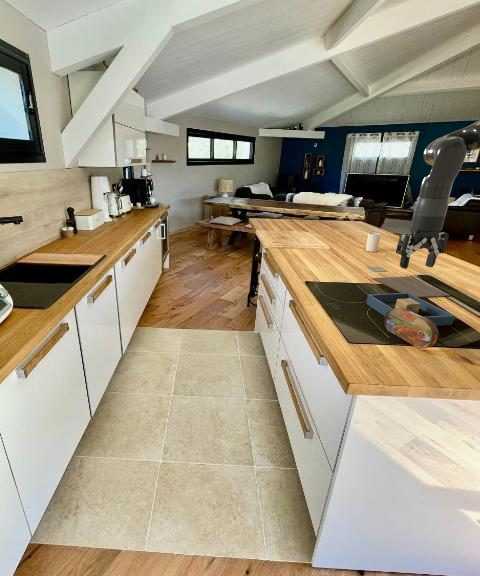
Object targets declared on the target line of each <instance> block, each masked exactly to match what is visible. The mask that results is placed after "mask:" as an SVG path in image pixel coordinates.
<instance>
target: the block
mask: <svg viewBox="0 0 480 576" xmlns="http://www.w3.org/2000/svg"><path fill="white" fill-rule="evenodd" d="M394 308H404V309H407V310H409V311H411V312H413V313H415V314H418V315H419V311H420V303H418V302H416V301H414V300H412V299H410V298H408V299H397V302H396V303H395V307H394Z"/></svg>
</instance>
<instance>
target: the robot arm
mask: <svg viewBox="0 0 480 576" xmlns="http://www.w3.org/2000/svg"><path fill="white" fill-rule="evenodd" d="M476 150H480V119H479V120H476V121H475V122H473V123H472V124H470V125H468V126H466V127H463V128H460V129H457V130H455V131H453V132H451V133H447V134H445V135H443V136H441V137H438V138H436V139H435V140H433V141H432V142H430V143H429V144H428V145H427V146H426V148H425V149H424V152H423V160H424V162H425V163H426V164H427V165H430V166H432V167H431V169H430V173H429V175H427V176H425V177H424V178H423V179H422V182H421V184H420V188H419V193H418V197H417V201H416V203H415V207H414V211H413V215H412V219H411V223H410V229H411V232H410V234H405V233H401V234H400V235H399V237H398V242H397V245H396V249H395V254H397V255H400V261H399V267H400V268H401V269H404V270H407V269H408V268H409V264H410V259H411V256H412V255H413V253H415V252H418V250H422V249H426V250H427V251H428V254H427V257H426V260H425V267H428V268H433V267H434V266H435V264H436V262H437V257H438V256H439V255H440V254H444V253H446V250H447V244H448V240H449V236H450V235H449V233H446V232H444V231H443V232H442V230H443V226H444V223H445V219H446V215H447V213H448V207H449V200H450V195H451V192H452V188H453V184H454V182H455V180H456V177H457V176H458V175H459V172H460V170H461V168H462V166H463V164H464V162H465V160H466V157H467V153H470V152H472V151H476Z"/></svg>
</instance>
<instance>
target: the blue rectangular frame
mask: <svg viewBox="0 0 480 576" xmlns="http://www.w3.org/2000/svg"><path fill="white" fill-rule="evenodd" d="M408 298H410V299H412V300H414V301H416V302H418V303H420V308H419V310H422V311H423V312H426V313H427V314H429V315H430V316H429V315H428V316H423V317H424V318H427V319H429V320H430V321H432V322H433V323H434V324H435V325H436V327H438V326H452V325H453V324H454V323H453V322H454V320H455V315H454V314H453V313H450V312H448V311H446V310H444V309H442V308H440V307H438V306H436V305H434V304H432V303H430V302H427V301H426V300H424V299H423V298H418V297H416V296H414V295H412V294H410V293H398V292H395V293H394V292H393V293H378V294H377V293H376V294H375V293H374V294H367V298H366V303H365V304H366V305H367V306H368V307H370V308H372V309H373V310H375V311H376V312H378V313H379V314H381V315H382V316H384V317H385V315H386V313H387V312H388V311H389V310H390V309H393V308H392V307H391V306H389V305H387V304H386V303H393V302H394V303H395V302H397V299H408Z"/></svg>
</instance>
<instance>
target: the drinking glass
mask: <svg viewBox="0 0 480 576" xmlns="http://www.w3.org/2000/svg"><path fill="white" fill-rule="evenodd" d="M381 237H382V234H381V233H379V232H368V233H367V240H366V247H365V250H366V252H370V253H377V252H378V249H379V244H380V241H381Z"/></svg>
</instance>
